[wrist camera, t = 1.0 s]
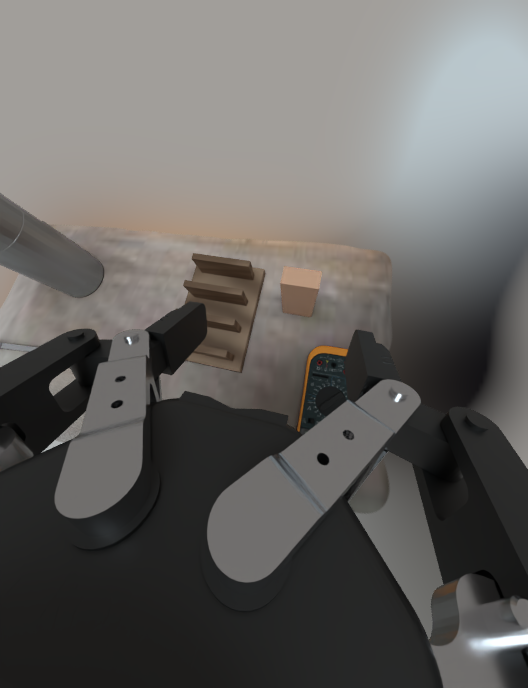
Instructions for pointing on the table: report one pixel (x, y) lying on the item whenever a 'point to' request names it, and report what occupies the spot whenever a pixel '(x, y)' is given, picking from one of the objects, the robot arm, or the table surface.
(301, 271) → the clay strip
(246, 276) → the ridged wooden board
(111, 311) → the table surface
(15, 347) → the caliper
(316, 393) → the multimeter
